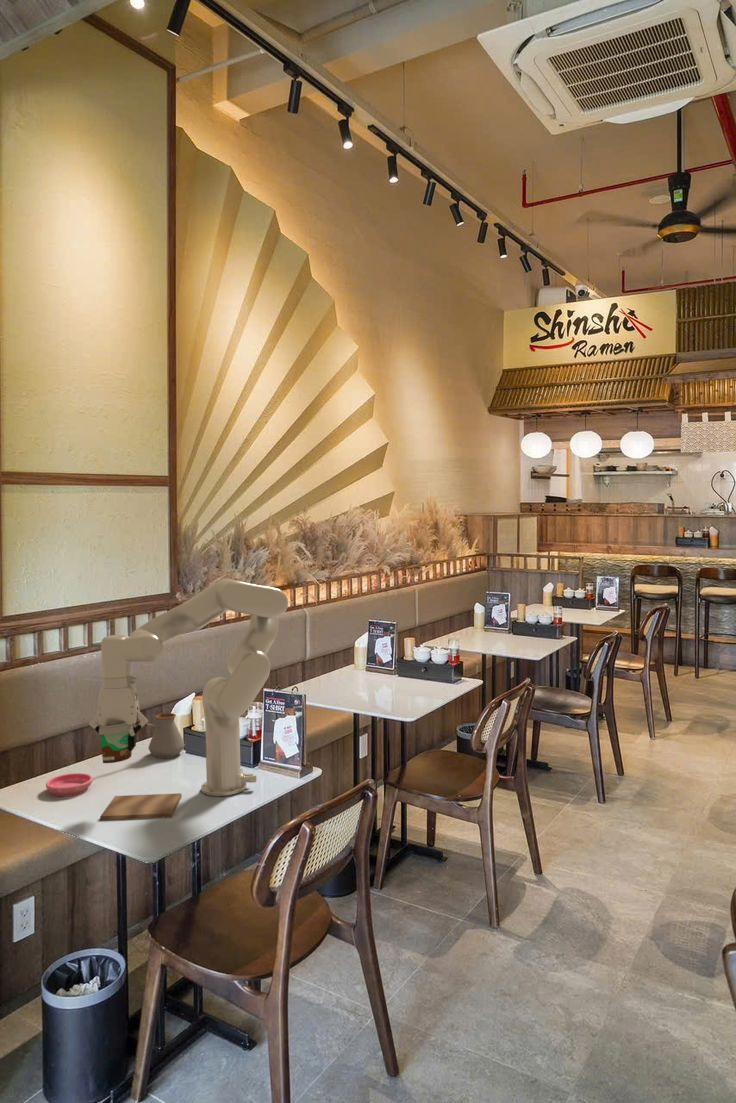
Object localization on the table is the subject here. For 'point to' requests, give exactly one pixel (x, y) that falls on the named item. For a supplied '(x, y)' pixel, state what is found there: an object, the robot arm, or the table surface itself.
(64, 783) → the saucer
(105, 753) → the food container
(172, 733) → the coffee pot
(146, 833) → the table surface
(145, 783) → the table surface
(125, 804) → the walnut board
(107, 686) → the robot arm
